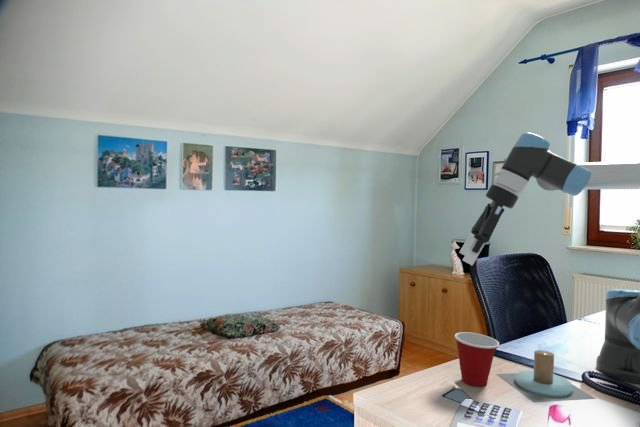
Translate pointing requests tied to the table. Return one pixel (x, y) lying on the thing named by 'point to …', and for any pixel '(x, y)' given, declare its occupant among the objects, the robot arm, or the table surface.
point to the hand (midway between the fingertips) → (465, 258)
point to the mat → (575, 395)
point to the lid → (543, 377)
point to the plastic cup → (475, 357)
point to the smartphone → (455, 396)
